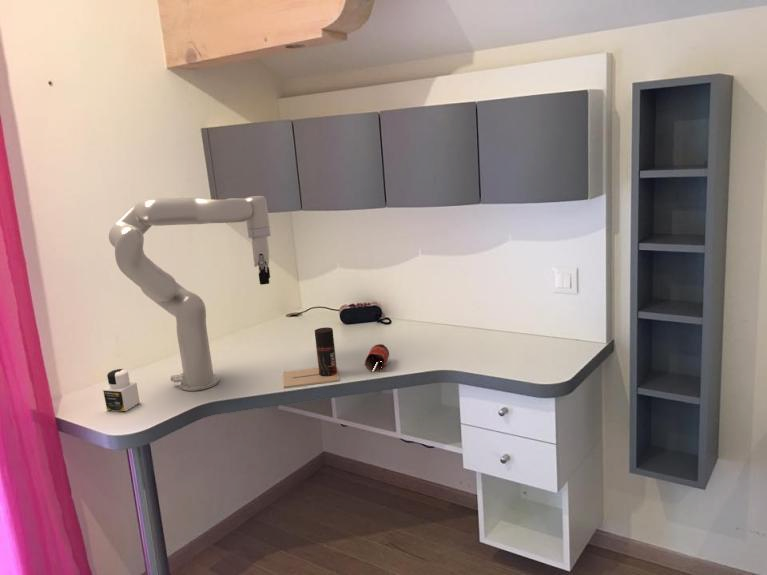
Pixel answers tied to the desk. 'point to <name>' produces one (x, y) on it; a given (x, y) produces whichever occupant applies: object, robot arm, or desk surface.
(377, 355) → the beverage can
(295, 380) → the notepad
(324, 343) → the deodorant
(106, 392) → the medicine bottle
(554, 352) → the desk surface
